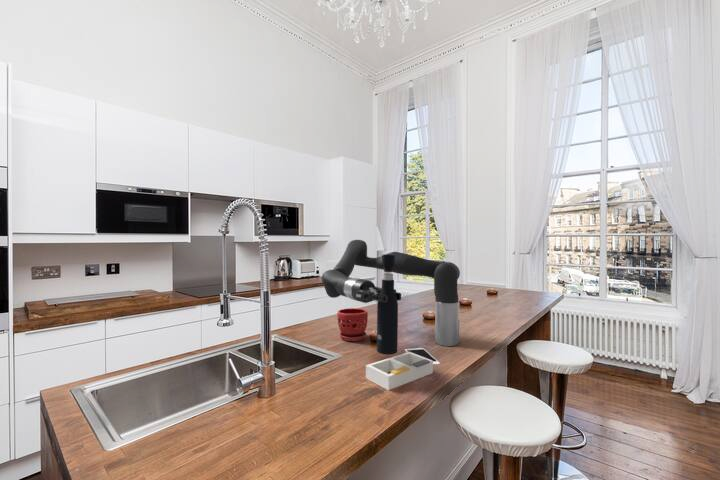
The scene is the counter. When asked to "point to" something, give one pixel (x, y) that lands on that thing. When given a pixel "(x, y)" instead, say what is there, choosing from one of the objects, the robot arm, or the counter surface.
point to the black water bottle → (387, 311)
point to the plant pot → (352, 323)
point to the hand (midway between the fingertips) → (393, 297)
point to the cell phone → (423, 354)
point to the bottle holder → (399, 370)
